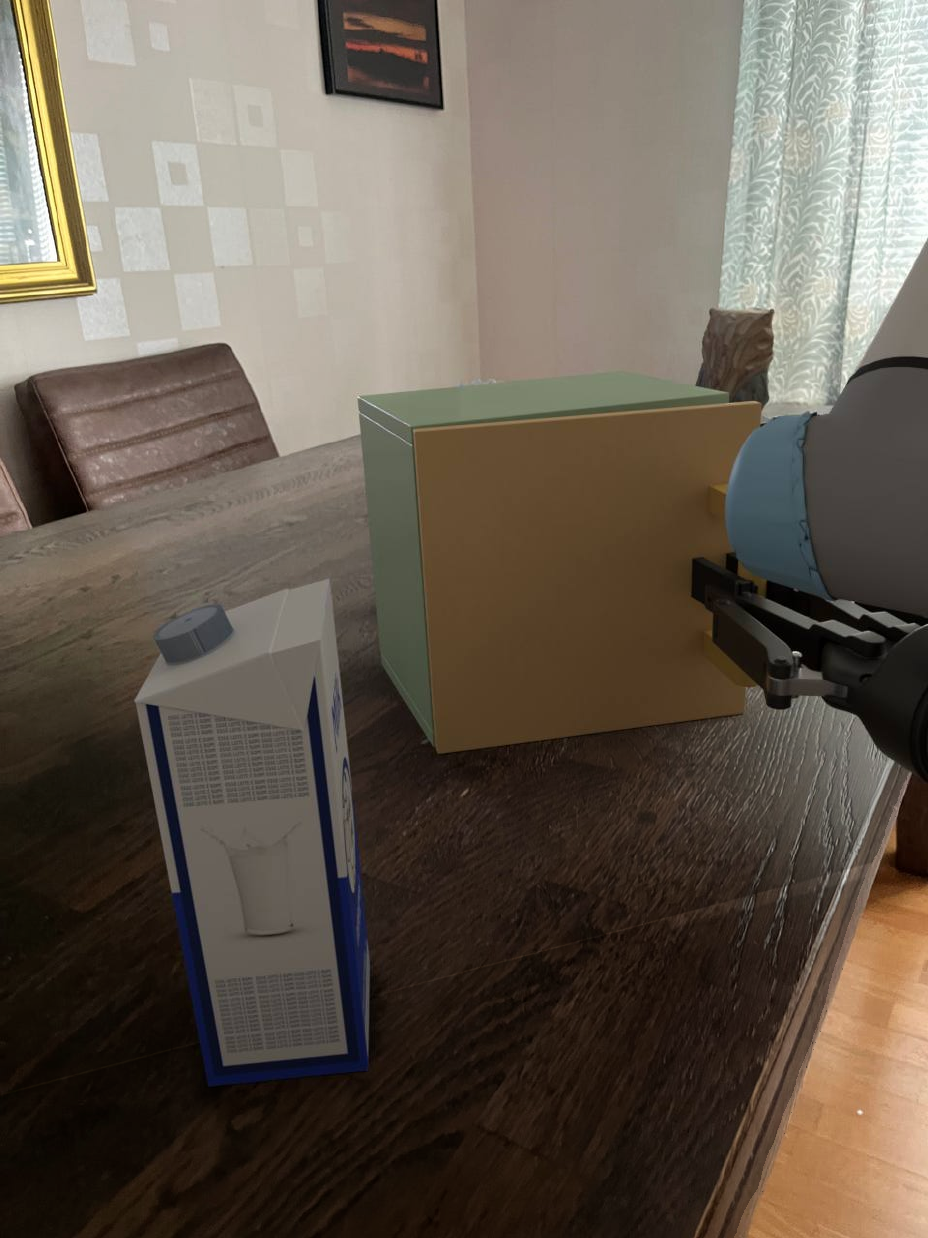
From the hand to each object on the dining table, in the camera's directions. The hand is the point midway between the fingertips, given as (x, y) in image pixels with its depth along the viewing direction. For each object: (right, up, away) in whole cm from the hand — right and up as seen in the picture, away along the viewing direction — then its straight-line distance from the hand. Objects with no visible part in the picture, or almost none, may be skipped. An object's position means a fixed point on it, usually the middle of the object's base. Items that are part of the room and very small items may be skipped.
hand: (713, 574), depth 65 cm
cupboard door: (-7, -12, +1) cm, 14 cm away
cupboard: (-11, -8, +13) cm, 18 cm away
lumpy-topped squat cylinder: (-13, +35, +128) cm, 133 cm away
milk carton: (-24, -21, -21) cm, 38 cm away
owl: (+33, +35, +121) cm, 131 cm away
